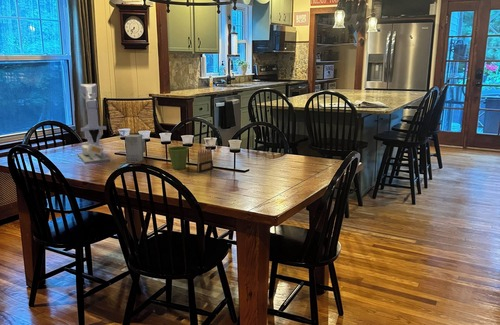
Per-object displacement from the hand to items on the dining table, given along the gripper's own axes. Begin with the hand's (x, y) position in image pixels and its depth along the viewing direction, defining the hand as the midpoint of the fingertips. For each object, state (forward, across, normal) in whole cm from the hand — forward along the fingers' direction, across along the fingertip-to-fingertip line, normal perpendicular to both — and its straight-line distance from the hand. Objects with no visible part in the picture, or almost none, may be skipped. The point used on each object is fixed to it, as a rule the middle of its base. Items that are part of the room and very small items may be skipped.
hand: (94, 142), depth 275 cm
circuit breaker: (+10, +20, -16) cm, 28 cm away
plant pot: (+10, +34, -50) cm, 62 cm away
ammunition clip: (+10, +44, -63) cm, 78 cm away
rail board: (+10, -2, +1) cm, 10 cm away
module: (+6, -1, 0) cm, 7 cm away
